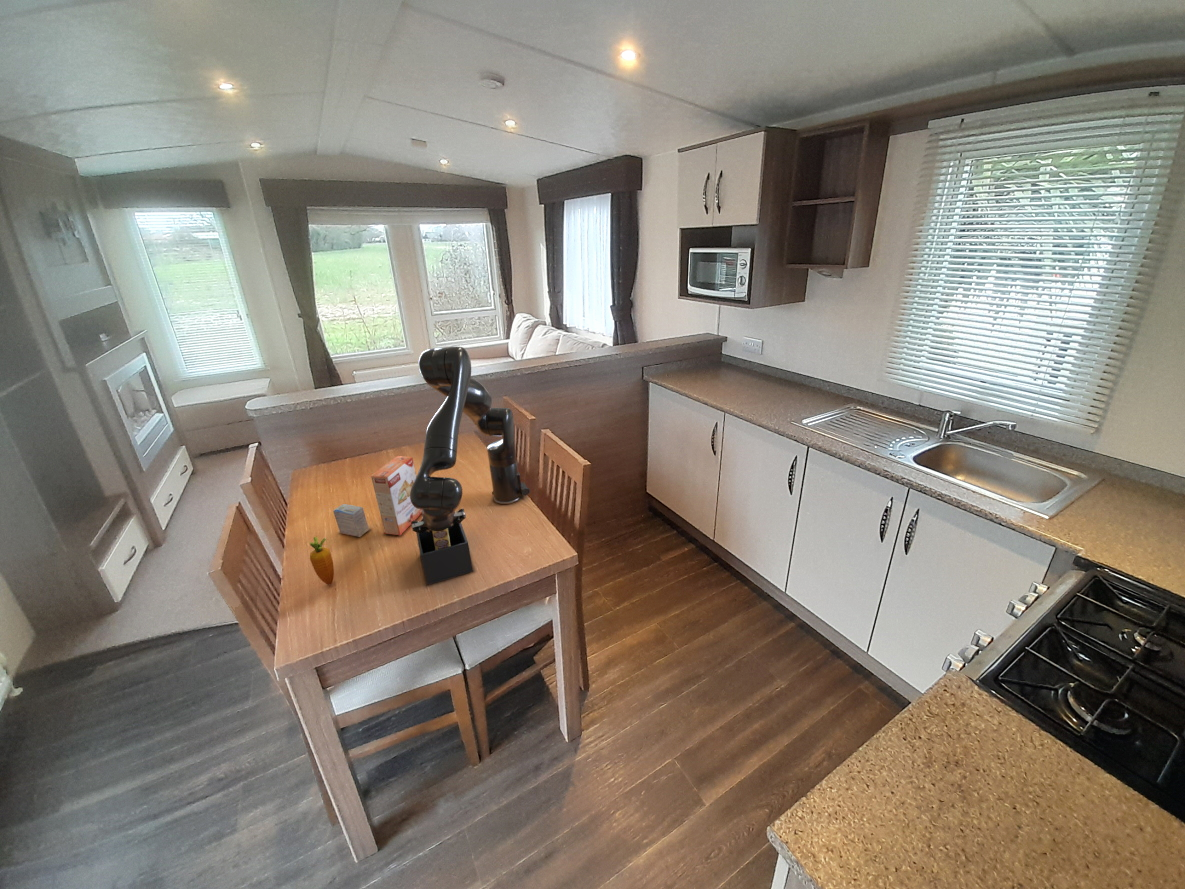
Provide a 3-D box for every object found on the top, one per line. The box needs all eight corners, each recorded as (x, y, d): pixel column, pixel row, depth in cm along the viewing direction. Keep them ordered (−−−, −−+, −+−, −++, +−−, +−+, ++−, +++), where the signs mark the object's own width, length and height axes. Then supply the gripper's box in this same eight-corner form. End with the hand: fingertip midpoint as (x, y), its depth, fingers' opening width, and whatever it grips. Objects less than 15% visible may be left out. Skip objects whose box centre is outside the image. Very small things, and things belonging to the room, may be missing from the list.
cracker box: (401, 536, 147) (387, 477, 139) (384, 534, 149) (369, 475, 140) (424, 511, 160) (413, 456, 151) (408, 510, 161) (395, 454, 152)
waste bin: (463, 543, 143) (458, 516, 139) (473, 571, 131) (468, 542, 127) (421, 555, 139) (415, 527, 135) (427, 585, 127) (420, 555, 123)
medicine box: (370, 529, 151) (363, 506, 147) (359, 538, 147) (352, 514, 144) (350, 525, 154) (343, 502, 150) (339, 533, 150) (332, 510, 146)
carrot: (324, 579, 130) (309, 534, 124) (343, 577, 131) (328, 532, 124) (316, 591, 126) (300, 545, 120) (336, 590, 126) (320, 544, 120)
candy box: (455, 568, 131) (446, 522, 125) (439, 572, 130) (429, 526, 124) (452, 550, 139) (443, 505, 133) (437, 554, 138) (427, 509, 131)
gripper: (464, 491, 120) (462, 508, 136) (404, 505, 115) (409, 521, 130) (471, 519, 118) (468, 534, 133) (410, 534, 113) (415, 548, 128)
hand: (439, 527), depth 132 cm, fingers closed on candy box, 4 cm apart
